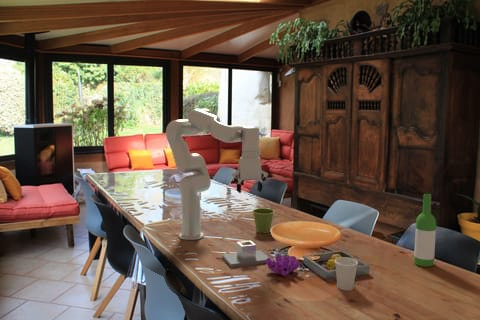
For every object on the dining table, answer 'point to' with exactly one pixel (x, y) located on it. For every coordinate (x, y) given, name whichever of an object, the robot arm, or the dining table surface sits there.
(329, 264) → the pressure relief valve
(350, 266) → the dixie cup
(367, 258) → the dining table surface
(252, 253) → the socket
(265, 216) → the plant pot
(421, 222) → the wine bottle
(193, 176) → the robot arm
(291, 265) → the purple bumpy lump
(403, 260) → the dining table surface
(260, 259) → the board
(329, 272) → the grey square tray
